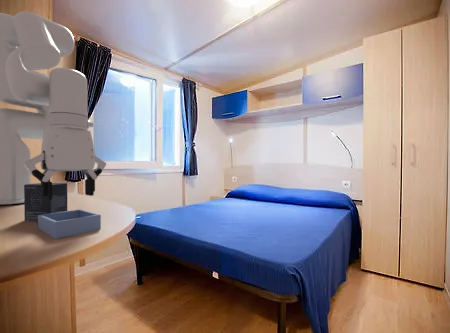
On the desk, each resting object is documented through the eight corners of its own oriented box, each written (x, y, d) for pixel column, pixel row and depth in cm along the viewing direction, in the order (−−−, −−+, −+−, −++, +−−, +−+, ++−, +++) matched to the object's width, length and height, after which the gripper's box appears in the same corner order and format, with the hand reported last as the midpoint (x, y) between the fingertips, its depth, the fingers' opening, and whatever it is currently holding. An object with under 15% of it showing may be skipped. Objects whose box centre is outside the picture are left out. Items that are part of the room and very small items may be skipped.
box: (68, 220, 64) (68, 182, 64) (49, 226, 58) (49, 184, 58) (44, 219, 65) (43, 182, 65) (23, 224, 60) (23, 183, 60)
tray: (38, 229, 55) (37, 215, 55) (80, 222, 62) (80, 209, 62) (55, 239, 48) (55, 222, 48) (100, 229, 56) (100, 214, 56)
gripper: (99, 129, 64) (99, 192, 64) (16, 120, 50) (17, 200, 50) (113, 126, 60) (113, 194, 60) (26, 115, 46) (27, 203, 46)
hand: (69, 196), depth 55 cm, fingers open, 8 cm apart
